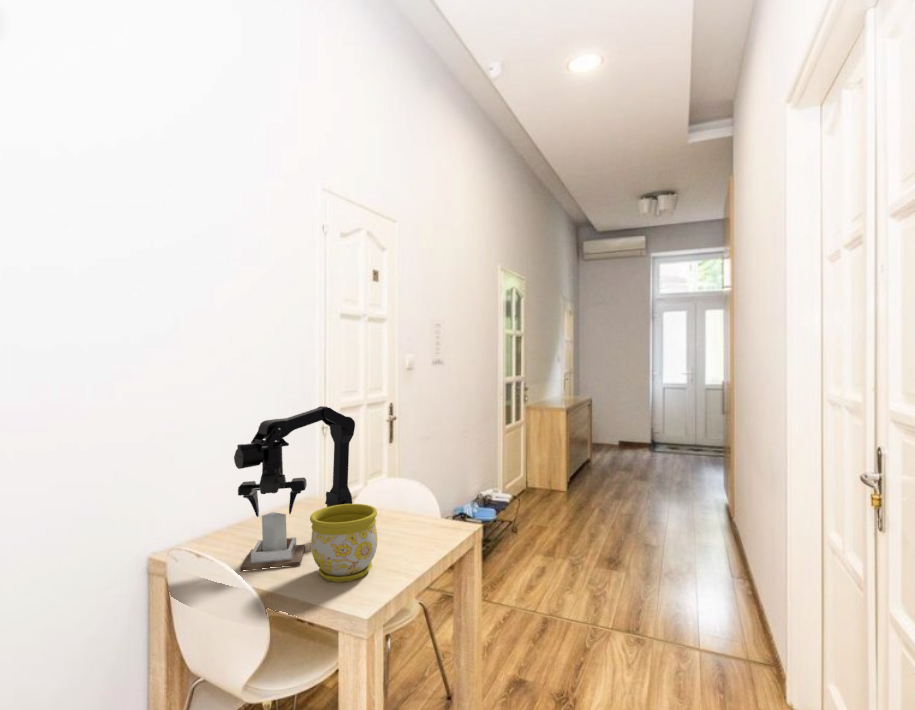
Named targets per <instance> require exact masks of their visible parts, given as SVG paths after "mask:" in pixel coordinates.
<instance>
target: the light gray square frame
mask: <svg viewBox="0 0 915 710" xmlns="http://www.w3.org/2000/svg"><path fill="white" fill-rule="evenodd" d="M296 545H297V537H296V536H294V537H293V536H292V537H287V549H284V550H274V551H263V539H260V540H258V541H257V543H256V544H255V546H254V548H252V549H253V551H252V553H251V564H261V563H271V562H281V561H291V560H292V558H293V555H294V552H295V549H296ZM262 551H263V552H262Z"/></svg>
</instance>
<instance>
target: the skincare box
mask: <svg viewBox="0 0 915 710" xmlns="http://www.w3.org/2000/svg"><path fill="white" fill-rule="evenodd" d="M261 527H262V530H261V533H262V540H263V551H274V550H284V549H287V538H288V537H287V535H288V533H287V514H285V513H280V512H275V511H272V512H269V513H266V514H262V515H261Z"/></svg>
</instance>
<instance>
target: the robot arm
mask: <svg viewBox="0 0 915 710" xmlns="http://www.w3.org/2000/svg"><path fill="white" fill-rule="evenodd" d="M321 421H322V422H323V423H324V424H325V425H326V426H328V427H329V430H330V431H329V433H330V436H331V439H332V441H333V444H334V445H333V467H332V468H333V471H332V487H331V489H330V490H329V491H326V493H325V503H324V504H325V505H326V507H330V506H335V505H342V504H353V496H352V493H351V491H350V490H351V489H350V488H349V462H350V461H349V459H350V458H349V457H350V442H351V440H352V438H353V436H354V434H355V428H356V422H355V420H354V419H353V418H352V417H351V416H346V415H344V414H341V413H340V412H339V411H336V410H334V409H332V408H331V407H330V406H323V405H321V406H318V407H317V408H313V409H309V410H307V411H305V412H302V413H301V412H300V413H298V414H295V415H291V416H289V417H284V418H273V419H267V420H263V421H262V422H260V424H259V426H258V430H257V432H256V433H255V435H254V437H253V439H252V440H251V441H250V443H245V444H244V443H239V444H237V447H236V450H235V453H234V456H233V461H234V464H235V467H236V468H237V469H239V470H242V469H245V468H252V467H257V466H260V465H262V467H261V469H262V471H261V472H262V473H261V475H260V481H259V483H256V481H255V480H251V481H243V482H242V483H241V484H240V485H239V486H238V487H237V488H238V489H237V496H239V497H241V496H242V498H244V499H247V500H248V501H249V502H250V504H251V507H252V509H253V512H254V513H255V516H256V517H257V518H258V517H259V516H260V507H259V499H258V491H260V492H259V493H260V494H261V495H267V494H277V493H278V492H279V490H280V489H281V490H282V489H290V493H289V504H288V505H289V506H288V514H289V515H291V514H292V510H293V508H294V504H295V501H296V497H297V495H298V494H301V493H302V491H305V490H306V488H307V487H308V486H307V485H308V483H307V479H306V477H295V478H294V477H293V478H292V479H291V481H286V475H285V474H284V468H283V466H284V465H283V463H284V462H283V447H288V446H289V445H290V443H288V441H286V440H285V439H284V438H285V437H287V436H289V435H290V433H292V432H293V431H295V430H298V429H300V428H304V427H306V426H309V425H312V424H316V423H318V422H321Z"/></svg>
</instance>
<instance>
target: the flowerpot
mask: <svg viewBox="0 0 915 710" xmlns="http://www.w3.org/2000/svg"><path fill="white" fill-rule="evenodd" d="M377 515H378V511H377V508H376V507H374V506H372V505H370V504H369V505H368V504H364V503H352V504H342V505H335V506H330V507H327V506H325V507H323V508H320V509H318V510H316V511H314V512H312V513H311V515H310V516H309V517H310V518H309V520H310V523H311V524H312V525H311V539H310V542H311V543H310V546H311V549H310V550H311V555H312V558H313V560H314V562H315V565H317V567H318V575H320V576H322V578H323V579H324V580H326V581H329V582H334V583H344V582H346V583H347V582H352V581H355V580H359V579H360V578H363V577H364V576H366V575H367V574H368V573H369V571H370V570H371V569H372V566H373V564H372V560H373V559H374V557H375V556H376V553H377V549H378V531H377V530H378V529H377V519H376V517H377Z"/></svg>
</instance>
